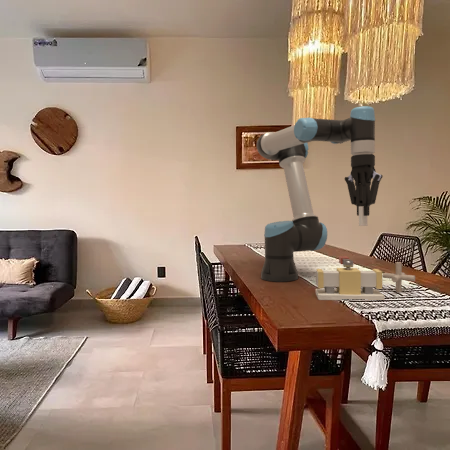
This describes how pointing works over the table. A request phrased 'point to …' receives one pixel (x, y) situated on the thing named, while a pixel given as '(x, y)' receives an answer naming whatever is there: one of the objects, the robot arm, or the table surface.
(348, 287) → the valve base
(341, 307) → the table surface
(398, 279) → the pipe connector
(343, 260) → the valve lever
